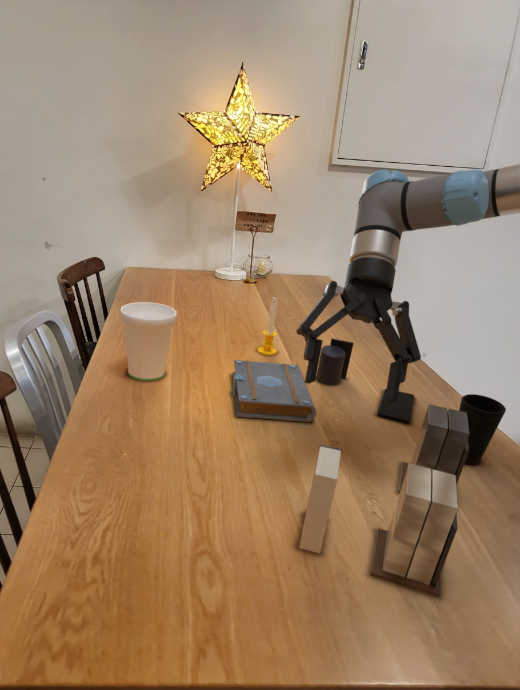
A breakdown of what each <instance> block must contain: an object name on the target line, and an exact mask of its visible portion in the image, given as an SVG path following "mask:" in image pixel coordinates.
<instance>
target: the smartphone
mask: <svg viewBox="0 0 520 690" xmlns="http://www.w3.org/2000/svg"><path fill="white" fill-rule="evenodd" d="M386 389H387V388H384V390H383V393H382V396H381V399H380V404H379V408H378V410H377V416H378V417H379V418H384V419H387V420H392V421H396V422H400V423H404V424H409V423H410V422H411V418H412V412H413V406H414V400H415V395H414V394H413V393H408V392H405V391H400V390H399V392H398V399H397V401H395V402H391V403H386V402H385V395H386Z"/></svg>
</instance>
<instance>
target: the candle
mask: <svg viewBox="0 0 520 690" xmlns="http://www.w3.org/2000/svg"><path fill="white" fill-rule="evenodd" d="M278 301H279V299H278V297H277V296H276V295H275V296H273V297H271V303H270V309H269V315H268V321H267V328H266V330H263V331H262V335H264V336H265V337H264V341H262V343H261V344H262V346H260V347H258V348H257V352H258V353H259V354H262V355H265V356H275V355H277V353H278V351H277V349H275V348H274V347H275V343H274V337H276V336H277V335H278V333H277V332H276V331H274V330H275V325H276V324H275V323H276V317H277V309H278Z"/></svg>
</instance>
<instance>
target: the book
mask: <svg viewBox="0 0 520 690" xmlns="http://www.w3.org/2000/svg"><path fill="white" fill-rule="evenodd" d="M233 364H234V371H232V383H233V384H232V391H231V393H232V398H234V402H235V409H236V417H237V418H251V419H265V420H279V421H288V422H289V421H291V422H304V423H311V422H312V421H313V419H315V417H316V416H317V410H316V407H315V404H314V403H313V399H312V397H311V394H310V391H309V389H308V387H307V383H305V379H304V376H303V374H302V372H301V371H302V370H301V369H300V367H299V366H298V364H287V363H276V362H264V361H251V360H240V359H234V360H233Z"/></svg>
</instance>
